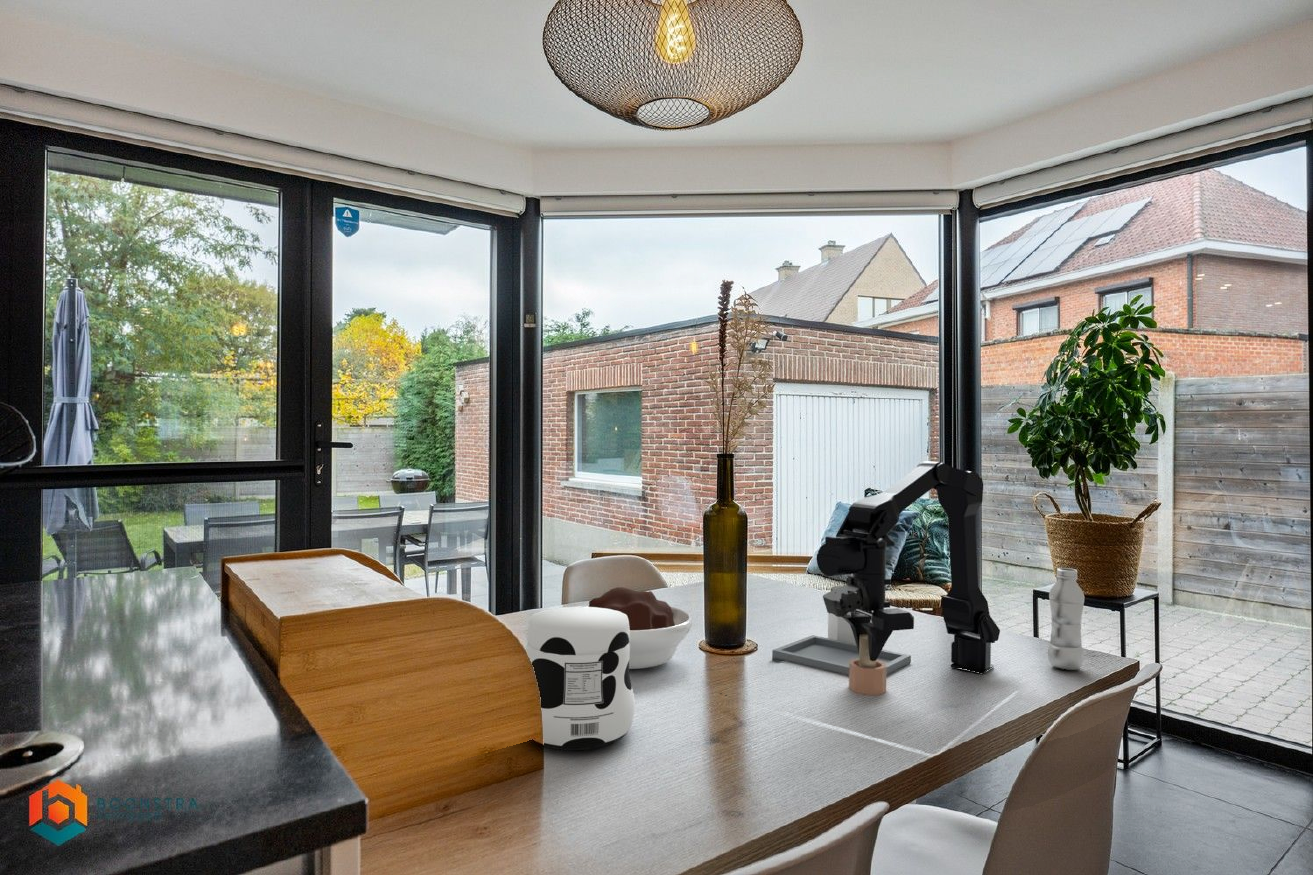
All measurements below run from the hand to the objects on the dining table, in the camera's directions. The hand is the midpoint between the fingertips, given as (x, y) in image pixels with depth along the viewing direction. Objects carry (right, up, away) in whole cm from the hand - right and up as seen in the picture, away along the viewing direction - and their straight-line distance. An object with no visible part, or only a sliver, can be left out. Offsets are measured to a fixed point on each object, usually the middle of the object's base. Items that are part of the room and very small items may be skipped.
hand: (867, 657), depth 139 cm
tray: (-1, -6, +18) cm, 19 cm away
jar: (+5, -6, +33) cm, 34 cm away
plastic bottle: (+44, -7, +16) cm, 47 cm away
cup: (0, -6, 0) cm, 6 cm away
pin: (0, -6, 0) cm, 6 cm away
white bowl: (-44, -6, +15) cm, 47 cm away
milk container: (-50, -6, -23) cm, 55 cm away
